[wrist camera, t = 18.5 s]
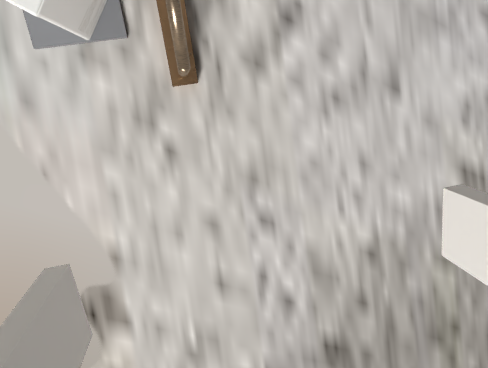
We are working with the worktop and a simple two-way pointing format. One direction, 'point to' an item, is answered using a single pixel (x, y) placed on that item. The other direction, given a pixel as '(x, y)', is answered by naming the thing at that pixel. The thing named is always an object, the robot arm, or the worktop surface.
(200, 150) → the worktop surface
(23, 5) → the supplement box
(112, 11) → the mat
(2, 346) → the robot arm
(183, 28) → the cabinet door handle
